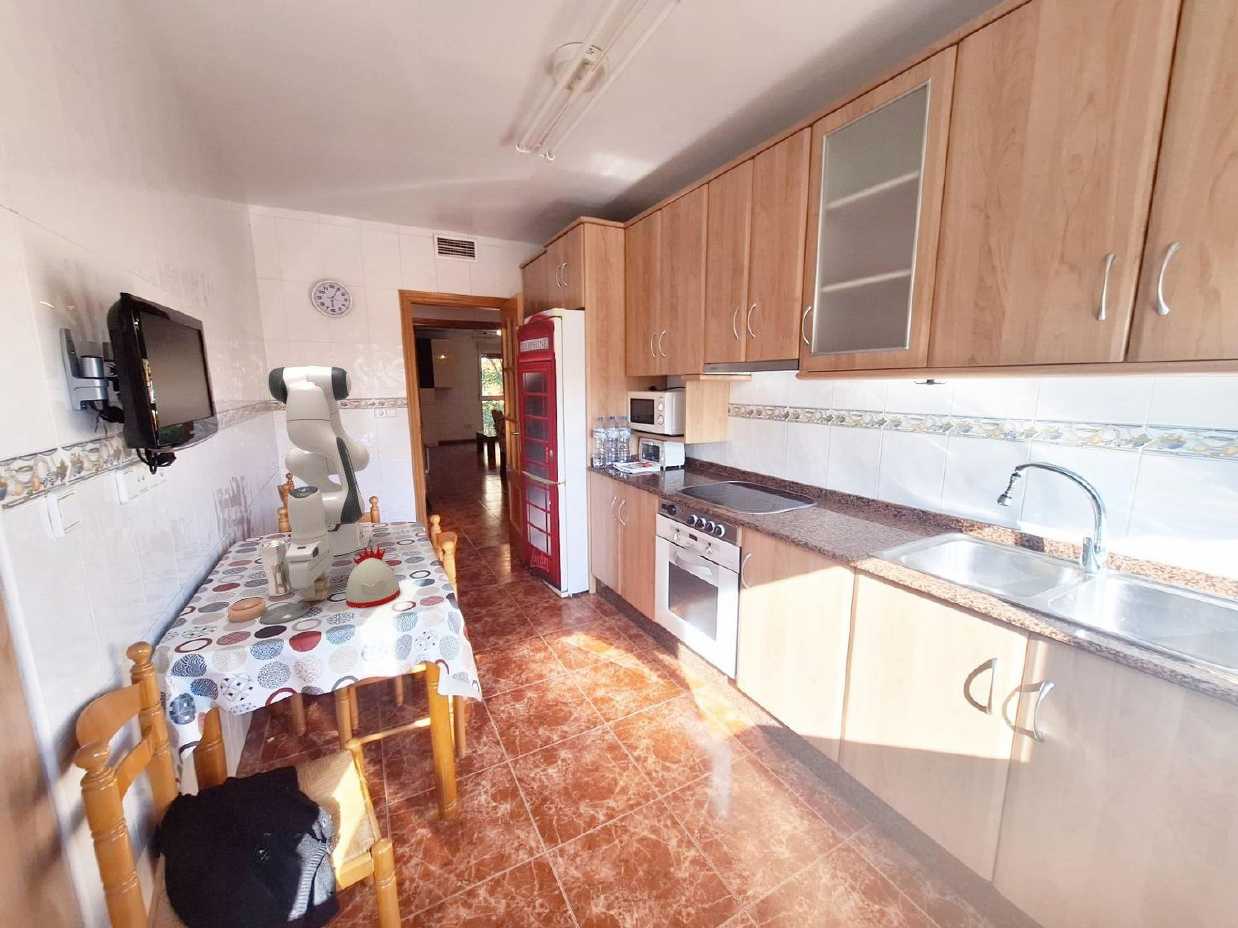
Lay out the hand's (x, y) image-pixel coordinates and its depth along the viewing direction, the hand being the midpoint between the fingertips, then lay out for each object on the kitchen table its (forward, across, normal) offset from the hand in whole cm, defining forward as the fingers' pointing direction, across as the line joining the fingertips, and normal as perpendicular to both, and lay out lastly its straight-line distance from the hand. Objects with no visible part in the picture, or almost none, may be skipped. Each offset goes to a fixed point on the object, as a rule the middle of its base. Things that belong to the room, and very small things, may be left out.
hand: (317, 590), depth 141 cm
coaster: (+2, +10, -4) cm, 11 cm away
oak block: (+2, 0, 0) cm, 2 cm away
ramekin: (+2, +8, -14) cm, 16 cm away
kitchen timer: (+2, +4, +16) cm, 17 cm away
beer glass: (+2, -6, -12) cm, 14 cm away
